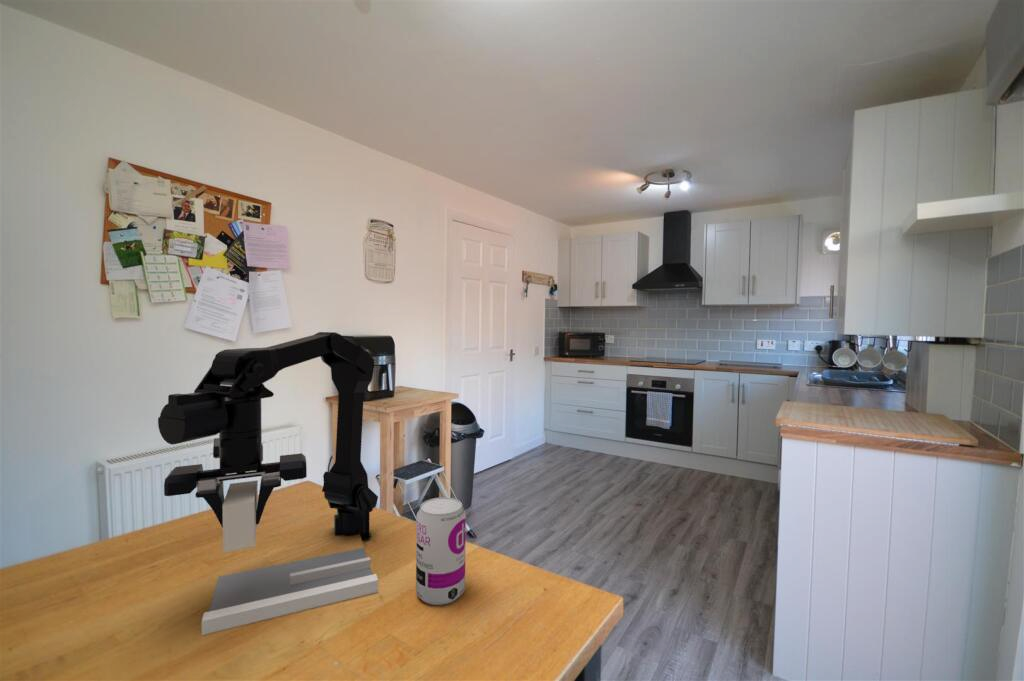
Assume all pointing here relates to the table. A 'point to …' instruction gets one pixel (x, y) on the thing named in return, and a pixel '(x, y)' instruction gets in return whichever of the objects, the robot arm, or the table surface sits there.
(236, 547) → the carton
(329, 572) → the shelf board
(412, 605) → the table surface
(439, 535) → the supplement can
